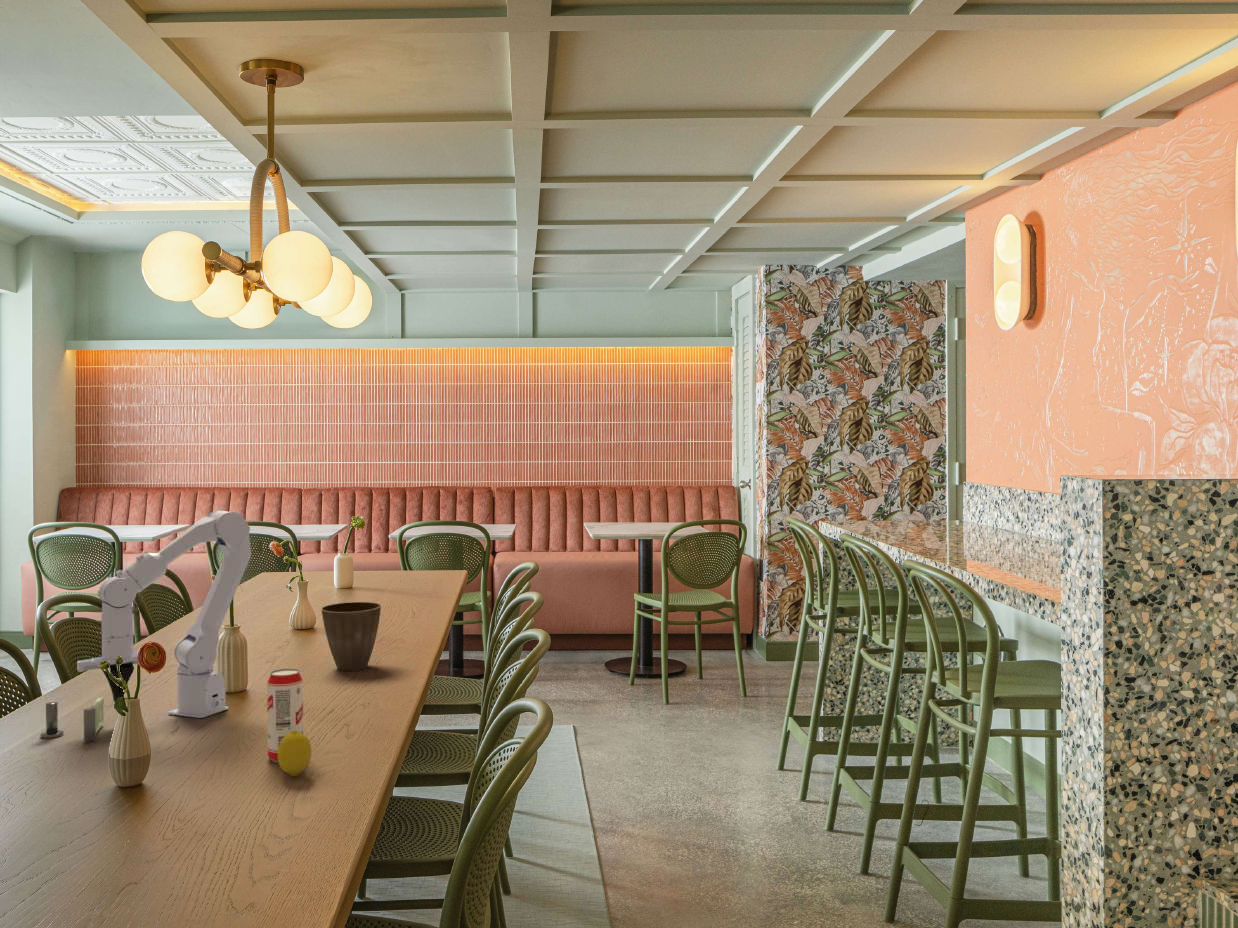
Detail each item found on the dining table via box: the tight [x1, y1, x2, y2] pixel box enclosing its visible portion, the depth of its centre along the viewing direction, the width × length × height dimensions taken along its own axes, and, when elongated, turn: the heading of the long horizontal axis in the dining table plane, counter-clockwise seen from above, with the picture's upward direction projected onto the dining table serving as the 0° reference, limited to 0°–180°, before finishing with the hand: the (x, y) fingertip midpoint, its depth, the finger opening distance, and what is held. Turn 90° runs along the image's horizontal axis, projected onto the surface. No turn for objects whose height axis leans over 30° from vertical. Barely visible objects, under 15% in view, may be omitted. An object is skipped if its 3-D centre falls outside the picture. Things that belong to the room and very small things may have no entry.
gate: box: [83, 696, 105, 742], centre depth 190 cm, size 12×2×6 cm, turn 18°
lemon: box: [278, 730, 312, 777], centre depth 165 cm, size 6×6×8 cm
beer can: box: [266, 668, 305, 764], centre depth 174 cm, size 6×6×16 cm
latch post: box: [39, 701, 65, 740], centre depth 189 cm, size 4×4×6 cm
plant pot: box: [320, 601, 382, 672], centre depth 246 cm, size 15×15×16 cm
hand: (118, 700), depth 196 cm, fingers closed
